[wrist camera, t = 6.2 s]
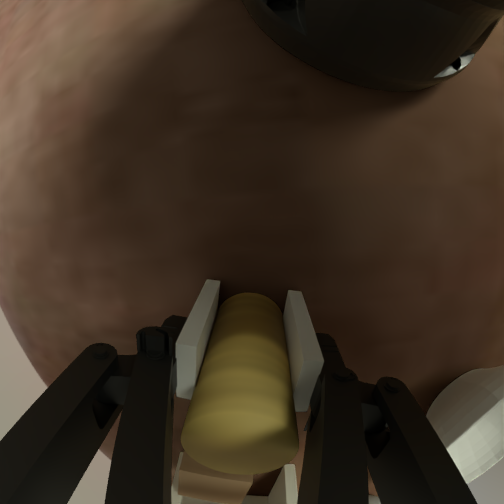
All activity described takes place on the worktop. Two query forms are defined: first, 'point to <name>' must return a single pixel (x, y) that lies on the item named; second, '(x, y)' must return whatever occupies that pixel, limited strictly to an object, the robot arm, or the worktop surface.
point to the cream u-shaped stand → (279, 499)
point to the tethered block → (239, 404)
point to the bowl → (472, 420)
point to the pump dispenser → (374, 499)
